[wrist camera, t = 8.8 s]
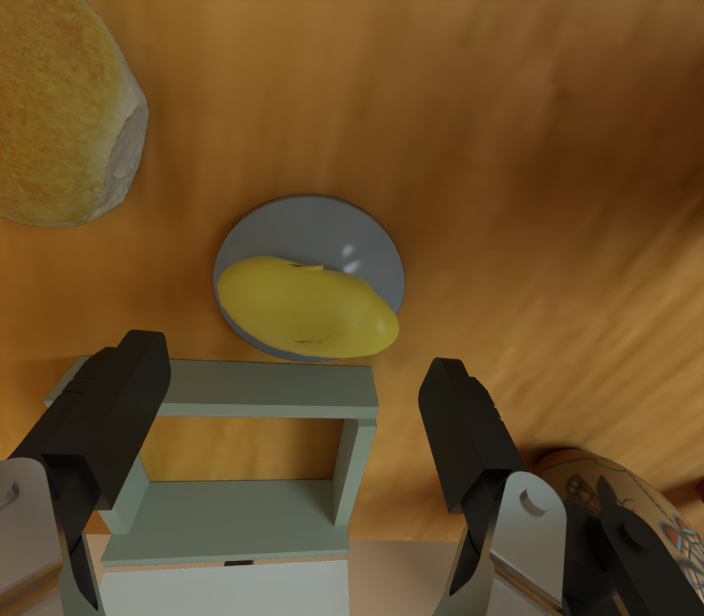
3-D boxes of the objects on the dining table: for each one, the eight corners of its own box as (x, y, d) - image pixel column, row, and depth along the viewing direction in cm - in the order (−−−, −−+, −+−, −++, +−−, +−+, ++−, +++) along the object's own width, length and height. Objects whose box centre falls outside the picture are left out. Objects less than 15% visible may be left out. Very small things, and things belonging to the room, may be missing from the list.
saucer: (207, 181, 13) (202, 186, 13) (421, 205, 15) (425, 212, 14) (224, 348, 18) (221, 358, 18) (382, 355, 20) (384, 364, 19)
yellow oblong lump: (242, 215, 14) (219, 258, 10) (407, 282, 16) (429, 334, 13) (216, 295, 16) (191, 352, 12) (367, 343, 18) (377, 400, 15)
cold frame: (80, 356, 18) (10, 439, 14) (371, 367, 20) (385, 440, 16) (137, 489, 26) (104, 567, 22) (342, 485, 28) (347, 555, 24)
